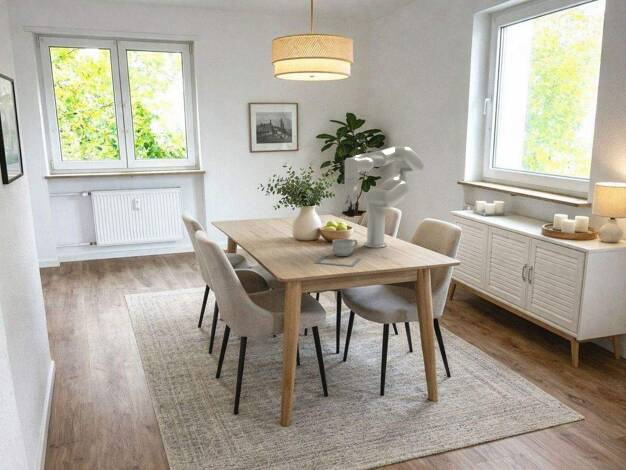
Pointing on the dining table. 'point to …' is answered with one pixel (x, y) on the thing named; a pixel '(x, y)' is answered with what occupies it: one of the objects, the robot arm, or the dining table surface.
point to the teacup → (343, 246)
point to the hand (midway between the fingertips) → (350, 216)
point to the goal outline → (337, 264)
